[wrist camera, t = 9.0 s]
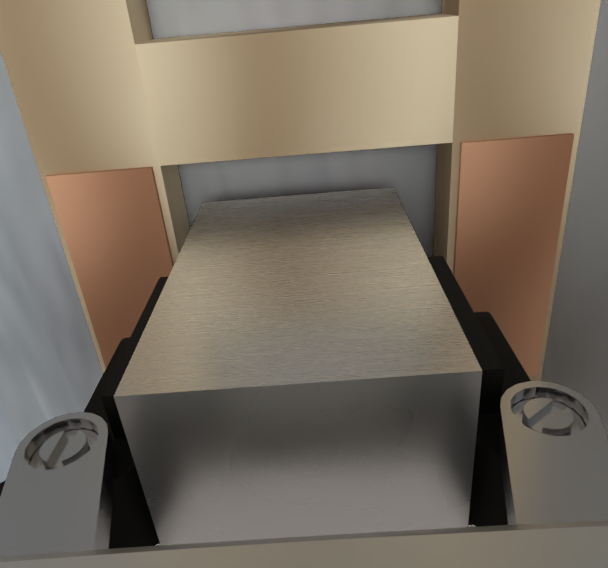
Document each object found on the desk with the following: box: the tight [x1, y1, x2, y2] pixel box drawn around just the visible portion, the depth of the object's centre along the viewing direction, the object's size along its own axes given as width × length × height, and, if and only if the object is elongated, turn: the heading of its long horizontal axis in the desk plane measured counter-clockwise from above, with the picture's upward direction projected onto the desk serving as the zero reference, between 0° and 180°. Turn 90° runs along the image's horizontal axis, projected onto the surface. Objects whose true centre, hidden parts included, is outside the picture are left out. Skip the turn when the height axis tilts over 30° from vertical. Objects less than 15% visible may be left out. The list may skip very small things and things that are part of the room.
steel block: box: [114, 187, 482, 545], centre depth 11 cm, size 4×4×7 cm
